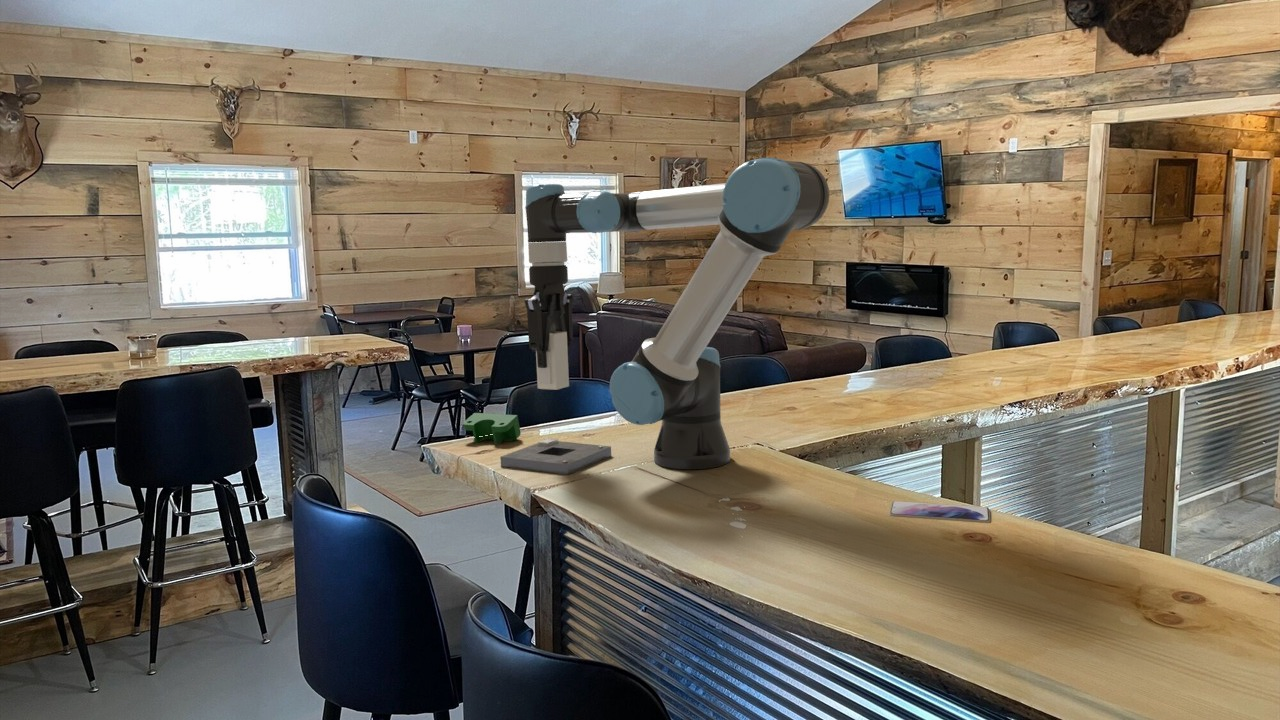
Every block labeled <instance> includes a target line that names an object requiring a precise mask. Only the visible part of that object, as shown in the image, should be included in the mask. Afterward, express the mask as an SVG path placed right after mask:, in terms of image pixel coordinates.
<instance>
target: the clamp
mask: <svg viewBox="0 0 1280 720" xmlns="http://www.w3.org/2000/svg"><path fill="white" fill-rule="evenodd" d="M519 422H520V421H519V417H518V414H503V413H502V414H501V413H486V412H485V413H483V412H482V413H481V412H474V413H472V415H470V416H469V417H468V418H467V419H465V420H464V421H463V423H462V424H463V428H464V431H470V432H472V434H473V438H474V437H475V438H474V444H478V443H480V442H482V441H484V440H489V441H490V439H492V440H491V441H493V442H494V445H495V446H496V445H499V444H500V443H501V442H502V441H505V442H506V441H507V442H515V441H516V440H517V439H518V438H519V437H520V436H521V428H520V423H519ZM490 434H493V435H490ZM485 435H488V436H485ZM479 436H483V437H479Z"/></svg>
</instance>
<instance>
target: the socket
mask: <svg viewBox="0 0 1280 720" xmlns="http://www.w3.org/2000/svg"><path fill="white" fill-rule="evenodd" d="M610 457H612V446H609V445H600V444H591V443H590V444H588V443H579V442H572V441H569V442H568V441H560V440H559V438H550V437H548V438H546V439H544V440H540V441H538V442H537V443H534V444H532V445H528V446H527V447H523V448H521V449H518V450H515V451H513V452H510V453H507V454H503V455H502V456H500V467H501V466H503V467H502V468H509V467H510V468H511V469H517V468H519V470H525V469H526V470H527V471H533V470H535V471H534V472H541V471H542V473H543V472H544V473H549V474H559V475H567V476H569V475H570V474H573V473H575V472H578V471H580V470H582V469H585V468H587V467H588V466H592V465H594V464H595V463H599V462H601V461H604V460H605V459H607V458H608V459H609V458H610ZM510 468H509V469H510Z"/></svg>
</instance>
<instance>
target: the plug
mask: <svg viewBox="0 0 1280 720" xmlns="http://www.w3.org/2000/svg"><path fill="white" fill-rule="evenodd" d="M567 337H568V336H567V332H556V331H555V322H551V323H550V335H549V346H548V351H551V361H552V383H553V384H539V370H538V364H537V363H538V362H537V351H535V357H536V358H535V359H536V360H535V361H536V362H535V363H536V381H537V383H536V384H537V389H540V390H550V391H551V390H554V391H555V390H557V391H558V390H561V389H563V388H565V389H566V388H568V387H570V382H569V381H570V378H569V375H570V374H569V355H568V354H569V353H568V351H569V350H568V347H567Z"/></svg>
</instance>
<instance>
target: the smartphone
mask: <svg viewBox="0 0 1280 720" xmlns="http://www.w3.org/2000/svg"><path fill="white" fill-rule="evenodd" d="M888 515H889V516H890V517H897V518H898V517H899V518H911V519H912V518H913V519H924V520H925V519H927V520H943V521H953V522H955V521H956V522H968V523H969V522H970V523H971V522H972V523H983V524H990V523H991V513H990V507H987V506H976V505H964V504H963V505H961V504H950V503H949V504H948V503H946V504H945V503H934V502H933V503H931V502H930V503H929V502H917V501H900V500H894V501H892V502H891V506H890V510H889V514H888Z"/></svg>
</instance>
